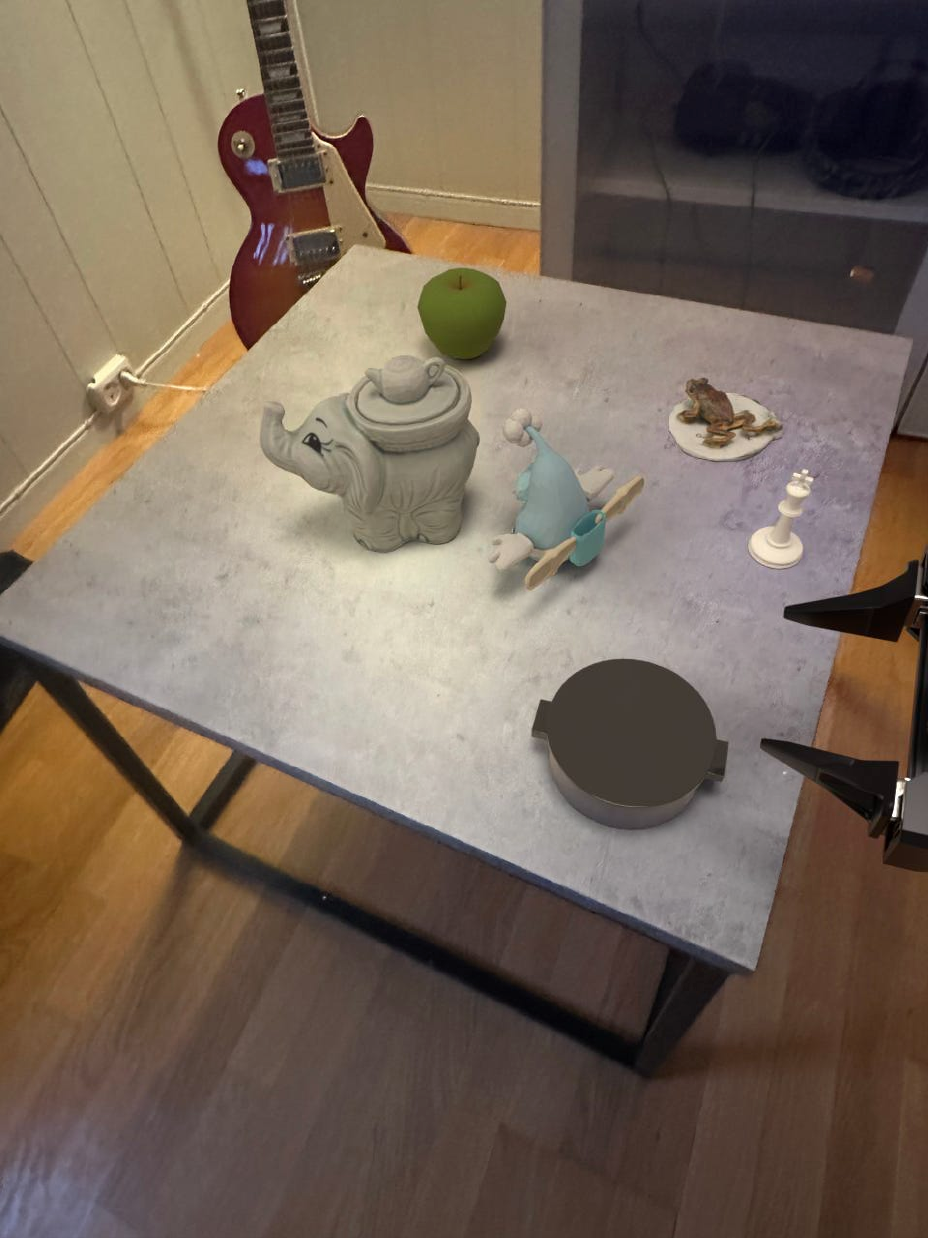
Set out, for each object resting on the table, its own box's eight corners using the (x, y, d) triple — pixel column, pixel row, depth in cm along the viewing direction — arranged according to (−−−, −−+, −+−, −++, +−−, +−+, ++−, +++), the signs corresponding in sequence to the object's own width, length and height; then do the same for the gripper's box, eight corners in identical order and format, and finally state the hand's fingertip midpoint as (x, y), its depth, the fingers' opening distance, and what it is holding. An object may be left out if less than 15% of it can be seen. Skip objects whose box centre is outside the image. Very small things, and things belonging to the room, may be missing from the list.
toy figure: (562, 480, 80) (568, 357, 68) (643, 526, 76) (665, 403, 64) (452, 571, 74) (438, 453, 62) (533, 628, 69) (535, 513, 57)
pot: (725, 712, 63) (738, 680, 59) (707, 856, 56) (721, 831, 52) (552, 674, 66) (554, 641, 62) (515, 806, 59) (515, 779, 55)
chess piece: (792, 576, 71) (826, 499, 63) (740, 557, 72) (767, 480, 64) (808, 541, 73) (842, 462, 65) (757, 524, 75) (785, 445, 67)
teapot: (289, 539, 78) (231, 386, 63) (372, 451, 85) (338, 295, 70) (422, 598, 72) (394, 444, 57) (499, 498, 79) (492, 338, 64)
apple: (418, 333, 98) (408, 259, 91) (497, 320, 99) (494, 245, 91) (430, 383, 92) (421, 308, 84) (515, 369, 93) (513, 292, 85)
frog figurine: (642, 425, 85) (647, 397, 82) (716, 380, 89) (722, 351, 85) (722, 478, 79) (730, 450, 76) (797, 427, 83) (807, 398, 80)
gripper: (1139, 497, 38) (803, 475, 44) (1153, 864, 31) (749, 775, 37) (1060, 607, 47) (791, 576, 54) (1057, 909, 40) (746, 832, 46)
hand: (772, 675), depth 47 cm, fingers open, 9 cm apart
